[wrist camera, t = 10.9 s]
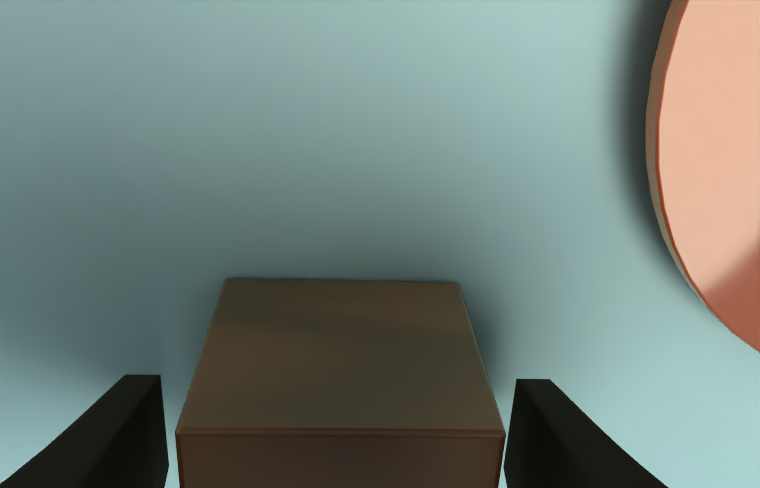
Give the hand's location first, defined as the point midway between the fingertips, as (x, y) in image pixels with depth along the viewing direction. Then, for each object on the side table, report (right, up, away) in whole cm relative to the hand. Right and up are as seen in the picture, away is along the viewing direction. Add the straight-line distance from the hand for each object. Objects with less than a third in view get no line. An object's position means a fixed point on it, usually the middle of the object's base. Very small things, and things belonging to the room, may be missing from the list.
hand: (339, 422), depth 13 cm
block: (0, +1, +1) cm, 1 cm away
